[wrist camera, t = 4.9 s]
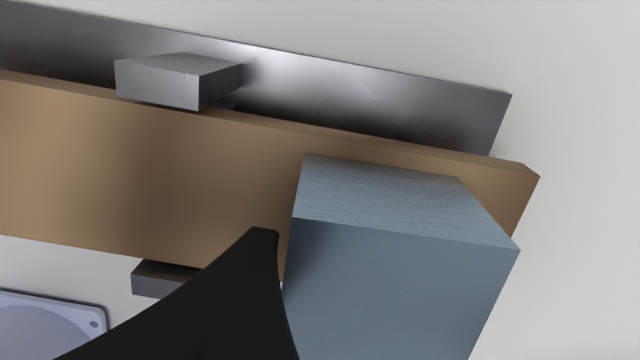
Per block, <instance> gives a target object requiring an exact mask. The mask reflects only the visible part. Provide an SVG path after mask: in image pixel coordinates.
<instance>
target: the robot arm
mask: <svg viewBox="0 0 640 360" xmlns="http://www.w3.org/2000/svg"><path fill="white" fill-rule="evenodd" d="M279 237H280V234H279V233H278V231H277V230H272V229H267V228H261V227H255V226H253V227H251V228H249V229H248V230H247V231H246V232H245V233H244V234H243V235H242V236H241V237H240V238H239V239H238V240H237V241H236V242H234V243H233V244H232V245H231V246H230V247H229V248H228V249H227V250H225V251H224V252H223V253H222V254H221V255H220V256H218V257H217V258H216V259H215V260H214V261H212V262H211V263H210V264H209V265H207V266H206V267H205V268H204V269H203V270H201V271H200V272H199V273H197V274H196V275H195V276H193V277H192V278H190V279H189V280H188V281H186V282H185V283H184V284H182V285H181V286H180V287H178V288H177V289H176V290H174V291H173V292H171V293H170V294H168V295H167V296H165V297H164V298H162V299H161V300H159V301H158V302H156V303H155V304H153V305H152V306H150V307H148V308H147V309H145V310H144V311H142V312H140V313H139V314H137V315H135V316H134V317H132V318H130V319H129V320H127V321H125V322H123V323H122V324H120V325H118V326H116V327H114V328H113V329H111V330H109V331H107V326H106V318H105V313H104V311H103V310H101V309H100V308H97V307H92V306H86V305H80V304H75V303H69V302H63V301H57V300H52V299H46V298H40V297H35V296H29V295H23V294H17V293H12V292H6V291H0V360H300V358H299V355H298V352H297V350H296V347H295V343H294V340H293V337H292V334H291V330H290V327H289V323H288V319H287V315H286V311H285V307H284V302H283V298H282V292H281V287H280V280H279V272H278V263H277V252H278V244H279Z"/></svg>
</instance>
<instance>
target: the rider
mask: <svg viewBox="0 0 640 360" xmlns="http://www.w3.org/2000/svg"><path fill="white" fill-rule="evenodd" d="M520 251H521V250H520V249H519V247H518V246H517V245H516V244H515V243H514V242H513V241H512V239H511V238H510V237H509V236H508V235H507V234H506V233H505V231H504V230H503V229H502V228H501V227H500V226H499V224H498V223H497V222H496V221H495V220H494V219H493V218H492V216H491V215H490V214H489V213H488V212H487V211H486V210H485V208H484V207H483V206H482V205H481V204H480V203H479V202H478V200H477V199H476V198H475V197H474V196H473V195H472V194H471V192H470V191H469V190H468V189H467V188H466V187H465V185H464V184H463V183H462V182H461V181H460V180H459V179H458V177H456V176H449V175H443V174H437V173H430V172H424V171H417V170H411V169H404V168H398V167H391V166H384V165H378V164H371V163H365V162H358V161H352V160H345V159H339V158H332V157H326V156H319V155H313V154H306V153H304V158H303V163H302V168H301V173H300V178H299V183H298V188H297V193H296V198H295V203H294V209H293V214H292V219H291V227H290V234H289V241H288V248H287V256H286V263H285V270H284V278H283V285H282V298H283V302H284V307H285V311H286V315H287V319H288V323H289V327H290V330H291V334H292V337H293V340H294V343H295V347H296V350H297V352H298V355H299V358H300V360H468V358H469V356H470V354H471V352H472V350H473V348H474V346H475V344H476V342H477V340H478V338H479V336H480V333H481V331H482V329H483V327H484V325H485V323H486V321H487V319H488V317H489V315H490V313H491V311H492V309H493V307H494V304H495V302H496V300H497V298H498V296H499V294H500V292H501V290H502V288H503V286H504V284H505V282H506V280H507V278H508V275H509V273H510V271H511V269H512V267H513V265H514V263H515V261H516V259H517V257H518V255H519V253H520Z"/></svg>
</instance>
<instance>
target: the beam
mask: <svg viewBox="0 0 640 360" xmlns="http://www.w3.org/2000/svg"><path fill="white" fill-rule="evenodd" d="M304 153H306V154H313V155H319V156H326V157H332V158H339V159H345V160H352V161H358V162H365V163H371V164H378V165H384V166H391V167H398V168H404V169H411V170H417V171H424V172H430V173H437V174H443V175H449V176H456V177H458V179H459V180H460V181H461V182H462V183H463V184H464V185H465V187H466V188H467V189H468V190H469V191H470V192H471V194H472V195H473V196H474V197H475V198H476V199H477V200H478V202H479V203H480V204H481V205H482V206H483V207H484V208H485V210H486V211H487V212H488V213H489V214H490V215H491V216H492V218H493V219H494V220H495V221H496V222H497V223H498V224H499V226H500V227H501V228H502V229H503V230H504V231H505V233H506V234H507V235H508V236H509V237H510V238H511V236H512V234H513V232H514V230H515V228H516V226H517V224H518V222H519V220H520V218H521V216H522V214H523V212H524V210H525V207H526V205H527V203H528V201H529V199H530V197H531V195H532V193H533V191H534V189H535V187H536V185H537V183H538V180H539V178H540V176H539V175H538V174H536V173H535V172H534V171H532V170H531V169H529V168H528V167H527V166H525V165H524V164H523V163H519V162H514V161H508V160H503V159H497V158H491V157H486V156H480V155H475V154H469V153H464V152H458V151H453V150H447V149H441V148H436V147H430V146H425V145H419V144H414V143H408V142H403V141H397V140H391V139H386V138H380V137H375V136H369V135H364V134H358V133H353V132H347V131H341V130H336V129H330V128H325V127H319V126H314V125H308V124H303V123H297V122H292V121H286V120H280V119H275V118H269V117H264V116H258V115H253V114H247V113H242V112H236V111H230V110H225V109H219V108H214V107H208V106H207V107H205V108H203V109H201V110H199V111H195V110H189V109H184V108H178V107H173V106H167V105H162V104H156V103H151V102H145V101H140V100H135V99H129V98H124V97H118V96H117V94H116V90H114V89H108V88H103V87H97V86H92V85H86V84H81V83H75V82H69V81H64V80H58V79H53V78H47V77H42V76H36V75H31V74H25V73H19V72H14V71H8V70H3V69H0V234H1V235H7V236H13V237H19V238H25V239H31V240H37V241H43V242H49V243H55V244H60V245H66V246H72V247H78V248H84V249H90V250H96V251H102V252H108V253H114V254H120V255H126V256H132V257H138V258H144V259H150V260H156V261H162V262H168V263H174V264H180V265H185V266H191V267H197V268H203V269H204V268H205V267H206V266H207V265H209V264H210V263H211V262H212V261H214V260H215V259H216V258H217V257H218V256H220V255H221V254H222V253H223V252H224V251H225V250H227V249H228V248H229V247H230V246H231V245H232V244H233V243H234V242H236V241H237V240H238V239H239V238H240V237H241V236H242V235H243V234H244V233H245V232H246V231H247V230H248V229H249V228H251V227H253V226H255V227H261V228H267V229H272V230H277V231H278V233H279V234H280V237H279V244H278V252H277V263H278V272H279V280H280V281H281V282H283V278H284V270H285V263H286V256H287V248H288V241H289V234H290V227H291V219H292V214H293V209H294V203H295V198H296V193H297V188H298V183H299V178H300V173H301V168H302V163H303V158H304Z"/></svg>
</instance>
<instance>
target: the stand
mask: <svg viewBox="0 0 640 360" xmlns="http://www.w3.org/2000/svg"><path fill="white" fill-rule="evenodd" d="M0 69H3V70H8V71H14V72H19V73H25V74H31V75H36V76H42V77H47V78H53V79H58V80H64V81H69V82H75V83H81V84H86V85H92V86H97V87H103V88H108V89H114V90H116V94H117V96H118V97H124V98H129V99H135V100H140V101H145V102H151V103H156V104H162V105H167V106H173V107H178V108H184V109H189V110H195V111H199V110H201V109H203V108H205V107H207V106H208V107H214V108H219V109H225V110H230V111H236V112H242V113H247V114H253V115H258V116H264V117H269V118H275V119H280V120H286V121H292V122H297V123H303V124H308V125H314V126H319V127H325V128H330V129H336V130H341V131H347V132H353V133H358V134H364V135H369V136H375V137H380V138H386V139H391V140H397V141H403V142H408V143H414V144H419V145H425V146H430V147H436V148H441V149H447V150H453V151H458V152H464V153H469V154H475V155H480V156H486V157H488V155H489V152H490V150H491V147H492V145H493V142H494V140H495V137H496V135H497V132H498V130H499V127H500V125H501V122H502V120H503V117H504V115H505V112H506V110H507V107H508V105H509V102H510V100H511V97H512V94H510V93H507V92H503V91H497V90H492V89H487V88H481V87H476V86H471V85H465V84H460V83H455V82H449V81H444V80H438V79H433V78H428V77H422V76H417V75H412V74H406V73H401V72H396V71H390V70H385V69H379V68H374V67H369V66H363V65H358V64H353V63H347V62H342V61H337V60H331V59H326V58H320V57H315V56H310V55H304V54H299V53H294V52H288V51H283V50H278V49H272V48H267V47H261V46H256V45H251V44H245V43H240V42H235V41H229V40H224V39H219V38H213V37H208V36H202V35H197V34H192V33H186V32H181V31H176V30H170V29H165V28H159V27H154V26H149V25H143V24H138V23H133V22H127V21H122V20H117V19H111V18H106V17H100V16H95V15H90V14H84V13H79V12H74V11H68V10H63V9H58V8H52V7H47V6H41V5H36V4H31V3H25V2H20V1H15V0H0ZM201 270H203V268H197V267H191V266H185V265H180V264H174V263H168V262H162V261H156V260H150V259H143V260H142V261H141V262H140V264H139V265H138V266H137V267H136V268H135V269H134V270H133V272H132V273H131V286H132V294H134V295H139V296H145V297H151V298H156V299H162V298H164V297H165V296H167V295H168V294H170V293H171V292H173V291H174V290H176V289H177V288H178V287H180V286H181V285H182V284H184V283H185V282H186V281H188V280H189V279H190V278H192V277H193V276H195V275H196V274H197V273H199V272H200V271H201Z"/></svg>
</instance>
